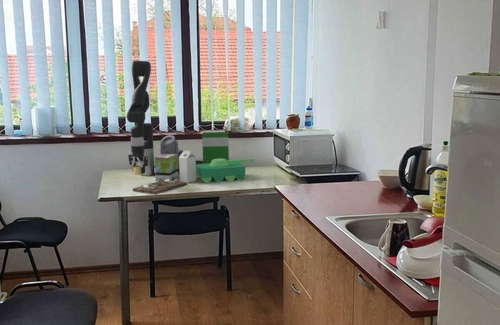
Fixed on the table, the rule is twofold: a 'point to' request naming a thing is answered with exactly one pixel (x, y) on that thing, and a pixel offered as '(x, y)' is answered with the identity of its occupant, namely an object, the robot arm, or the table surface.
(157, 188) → the gear board
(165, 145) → the grey watering can
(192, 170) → the milk carton
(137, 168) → the brass ring gear
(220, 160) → the toy tank
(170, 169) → the tea box
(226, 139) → the hardback book
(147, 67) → the robot arm
